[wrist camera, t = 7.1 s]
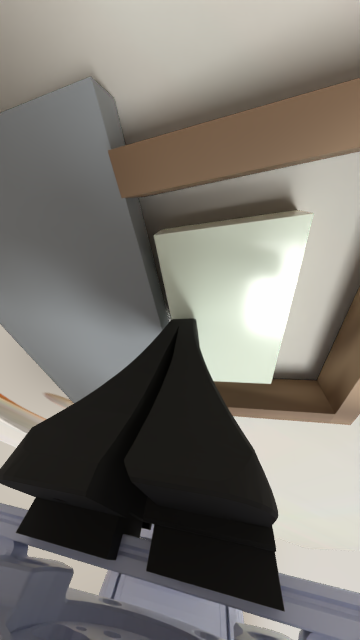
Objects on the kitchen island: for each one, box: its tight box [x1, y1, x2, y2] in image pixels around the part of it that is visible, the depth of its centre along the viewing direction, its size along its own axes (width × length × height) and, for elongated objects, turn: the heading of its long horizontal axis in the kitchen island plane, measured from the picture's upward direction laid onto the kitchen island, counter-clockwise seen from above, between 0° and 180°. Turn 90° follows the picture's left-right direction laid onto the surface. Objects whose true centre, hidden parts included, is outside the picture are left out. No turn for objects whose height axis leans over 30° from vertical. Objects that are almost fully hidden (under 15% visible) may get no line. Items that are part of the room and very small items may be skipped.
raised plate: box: [0, 76, 169, 403], centre depth 12 cm, size 19×12×2 cm, turn 9°
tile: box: [154, 210, 314, 384], centre depth 10 cm, size 10×6×2 cm, turn 8°
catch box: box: [108, 78, 360, 425], centre depth 9 cm, size 15×11×2 cm
